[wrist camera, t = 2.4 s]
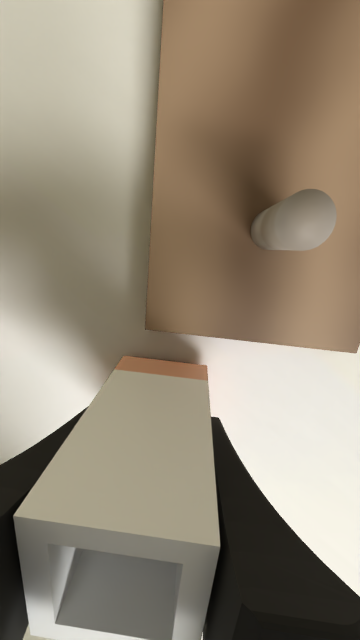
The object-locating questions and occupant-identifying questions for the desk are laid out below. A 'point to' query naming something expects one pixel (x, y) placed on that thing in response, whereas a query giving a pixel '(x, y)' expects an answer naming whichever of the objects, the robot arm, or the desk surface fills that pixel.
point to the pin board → (258, 173)
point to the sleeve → (126, 513)
